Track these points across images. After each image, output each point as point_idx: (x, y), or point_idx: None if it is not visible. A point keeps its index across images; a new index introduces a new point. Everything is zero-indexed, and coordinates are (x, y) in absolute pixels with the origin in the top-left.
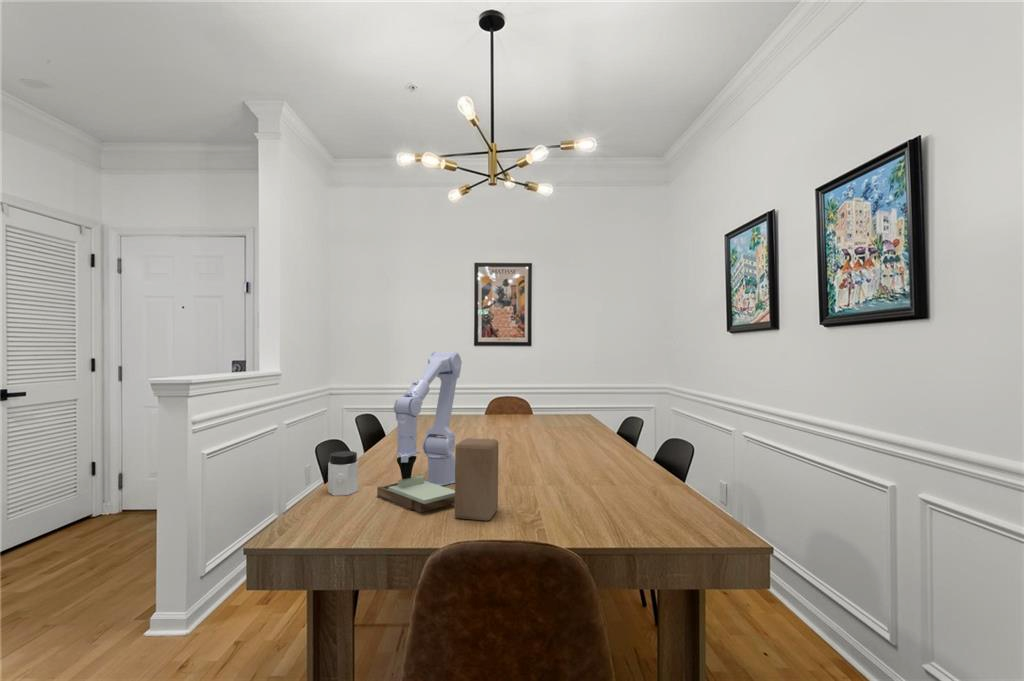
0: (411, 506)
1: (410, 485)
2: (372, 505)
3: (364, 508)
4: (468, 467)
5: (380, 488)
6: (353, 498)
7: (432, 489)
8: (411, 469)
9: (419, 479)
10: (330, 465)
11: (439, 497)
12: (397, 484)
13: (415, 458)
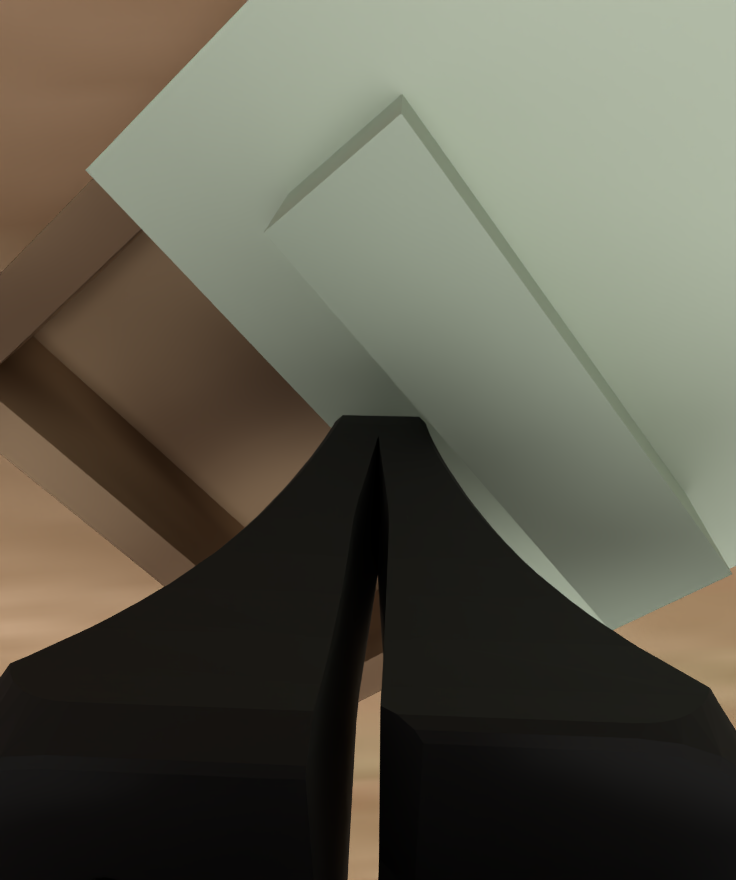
0: None
1: (602, 378)
2: (627, 638)
3: (706, 684)
4: None
5: (380, 686)
6: (368, 772)
7: None
8: (519, 558)
9: (490, 235)
10: None
11: None
12: (163, 531)
13: (306, 745)
